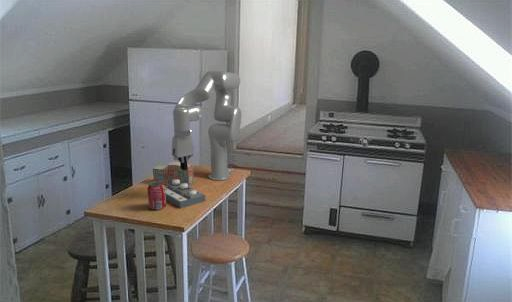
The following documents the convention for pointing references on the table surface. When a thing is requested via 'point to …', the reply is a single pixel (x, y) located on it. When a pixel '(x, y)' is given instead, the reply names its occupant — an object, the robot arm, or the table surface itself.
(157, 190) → the beverage can
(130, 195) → the table surface
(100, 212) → the table surface
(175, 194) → the button board
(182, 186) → the button middle
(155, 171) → the stack of blocks
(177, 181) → the button
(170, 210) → the table surface
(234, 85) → the robot arm
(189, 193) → the button
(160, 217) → the table surface
